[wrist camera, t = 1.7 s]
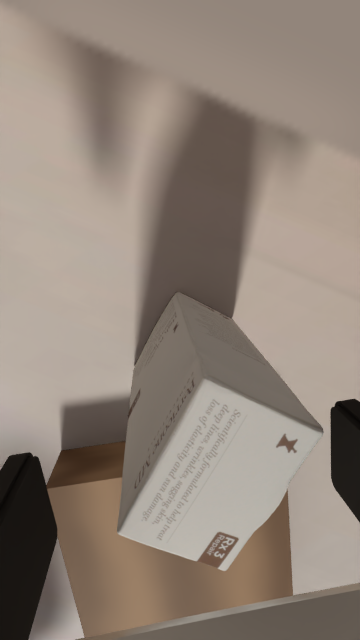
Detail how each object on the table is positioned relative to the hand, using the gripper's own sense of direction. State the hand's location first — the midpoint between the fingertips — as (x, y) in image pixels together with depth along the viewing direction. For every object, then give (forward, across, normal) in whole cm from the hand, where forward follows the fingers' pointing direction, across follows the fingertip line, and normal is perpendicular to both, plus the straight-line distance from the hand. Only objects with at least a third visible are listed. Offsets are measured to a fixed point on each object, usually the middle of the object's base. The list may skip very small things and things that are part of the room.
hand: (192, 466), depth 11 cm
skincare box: (+12, -1, 0) cm, 12 cm away
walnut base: (+12, +1, +13) cm, 18 cm away
